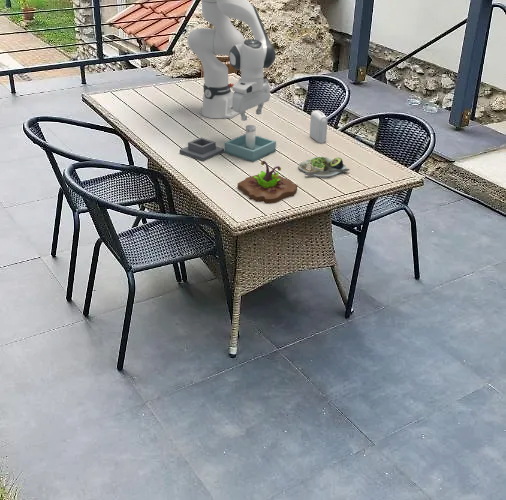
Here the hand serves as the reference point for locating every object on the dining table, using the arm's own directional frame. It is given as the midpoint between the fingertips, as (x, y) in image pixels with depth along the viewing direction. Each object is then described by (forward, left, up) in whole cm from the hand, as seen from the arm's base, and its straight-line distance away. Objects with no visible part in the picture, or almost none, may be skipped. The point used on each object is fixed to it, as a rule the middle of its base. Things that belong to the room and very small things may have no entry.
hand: (251, 117), depth 263 cm
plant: (+25, +28, -16) cm, 40 cm away
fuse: (0, 0, -14) cm, 14 cm away
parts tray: (+1, 0, -15) cm, 15 cm away
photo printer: (-31, +13, -15) cm, 37 cm away
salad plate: (-5, +33, -16) cm, 36 cm away
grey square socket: (+14, -14, -15) cm, 25 cm away
